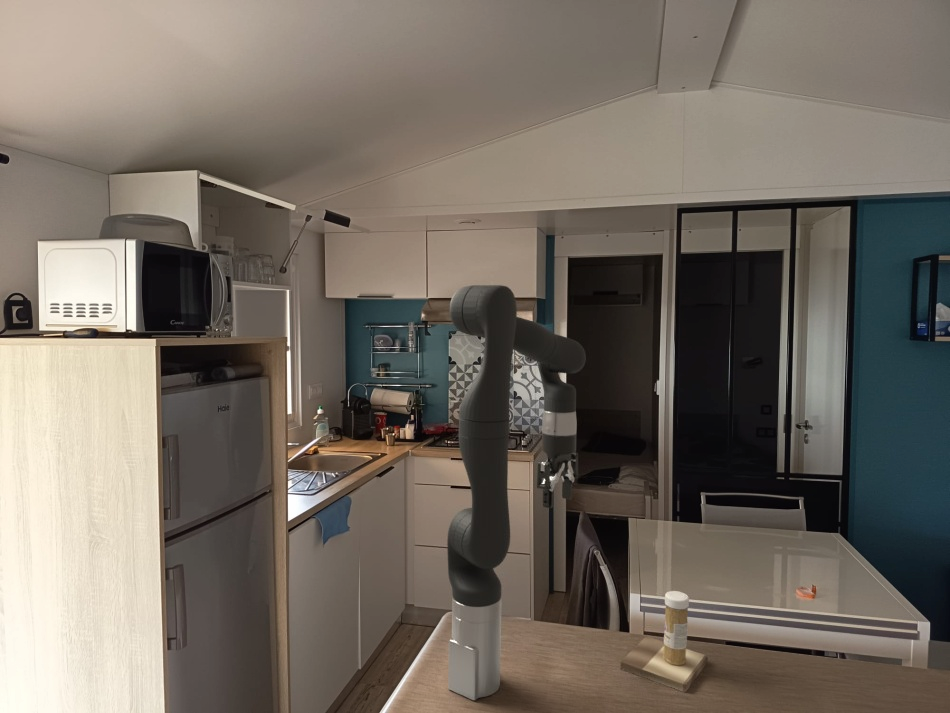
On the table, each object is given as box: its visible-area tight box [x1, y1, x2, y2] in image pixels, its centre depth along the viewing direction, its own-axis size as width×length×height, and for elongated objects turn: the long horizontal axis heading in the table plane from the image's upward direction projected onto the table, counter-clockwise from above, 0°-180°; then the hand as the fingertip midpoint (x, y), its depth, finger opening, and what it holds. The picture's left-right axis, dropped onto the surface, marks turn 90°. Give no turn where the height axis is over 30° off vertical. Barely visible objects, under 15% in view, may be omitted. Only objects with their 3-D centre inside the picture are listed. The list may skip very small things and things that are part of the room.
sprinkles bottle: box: [663, 590, 690, 665], centre depth 131 cm, size 5×5×13 cm
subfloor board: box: [620, 635, 708, 693], centre depth 132 cm, size 13×13×2 cm
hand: (557, 502), depth 147 cm, fingers open, 8 cm apart
